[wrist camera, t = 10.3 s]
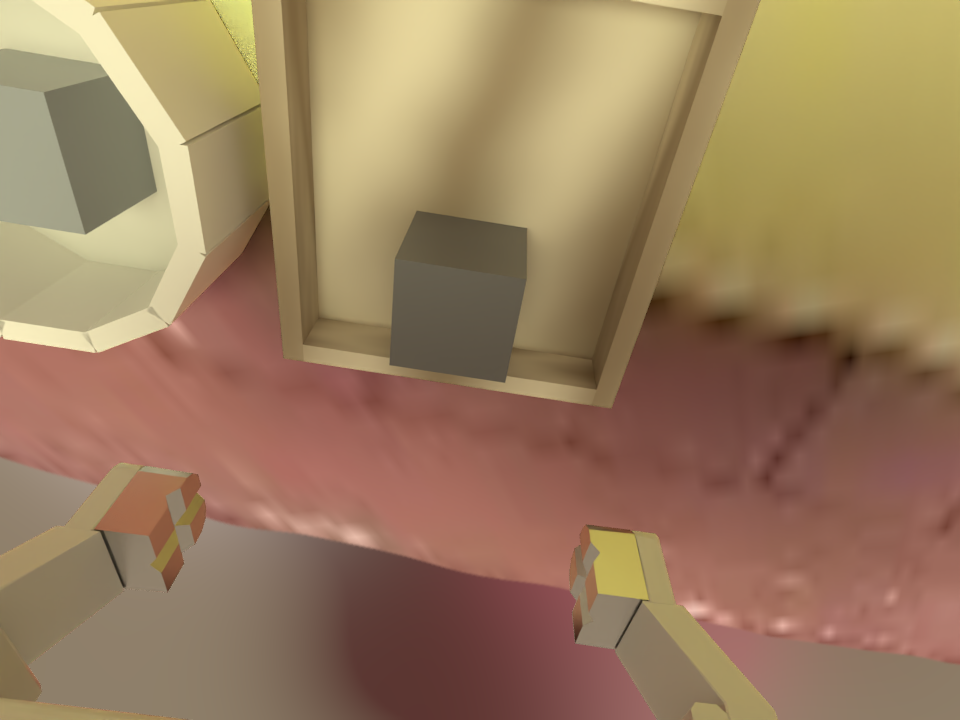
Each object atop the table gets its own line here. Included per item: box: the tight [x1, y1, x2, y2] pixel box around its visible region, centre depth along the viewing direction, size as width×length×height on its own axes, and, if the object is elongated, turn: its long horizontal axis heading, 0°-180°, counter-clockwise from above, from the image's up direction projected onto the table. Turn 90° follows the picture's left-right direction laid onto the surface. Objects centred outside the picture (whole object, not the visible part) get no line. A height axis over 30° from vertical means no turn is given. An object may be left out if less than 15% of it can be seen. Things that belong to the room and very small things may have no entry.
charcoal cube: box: [389, 211, 527, 383], centre depth 19 cm, size 4×4×4 cm
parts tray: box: [251, 0, 760, 408], centre depth 19 cm, size 13×14×3 cm
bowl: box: [0, 0, 270, 353], centre depth 18 cm, size 12×12×6 cm
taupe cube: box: [0, 48, 157, 235], centre depth 17 cm, size 4×4×4 cm
